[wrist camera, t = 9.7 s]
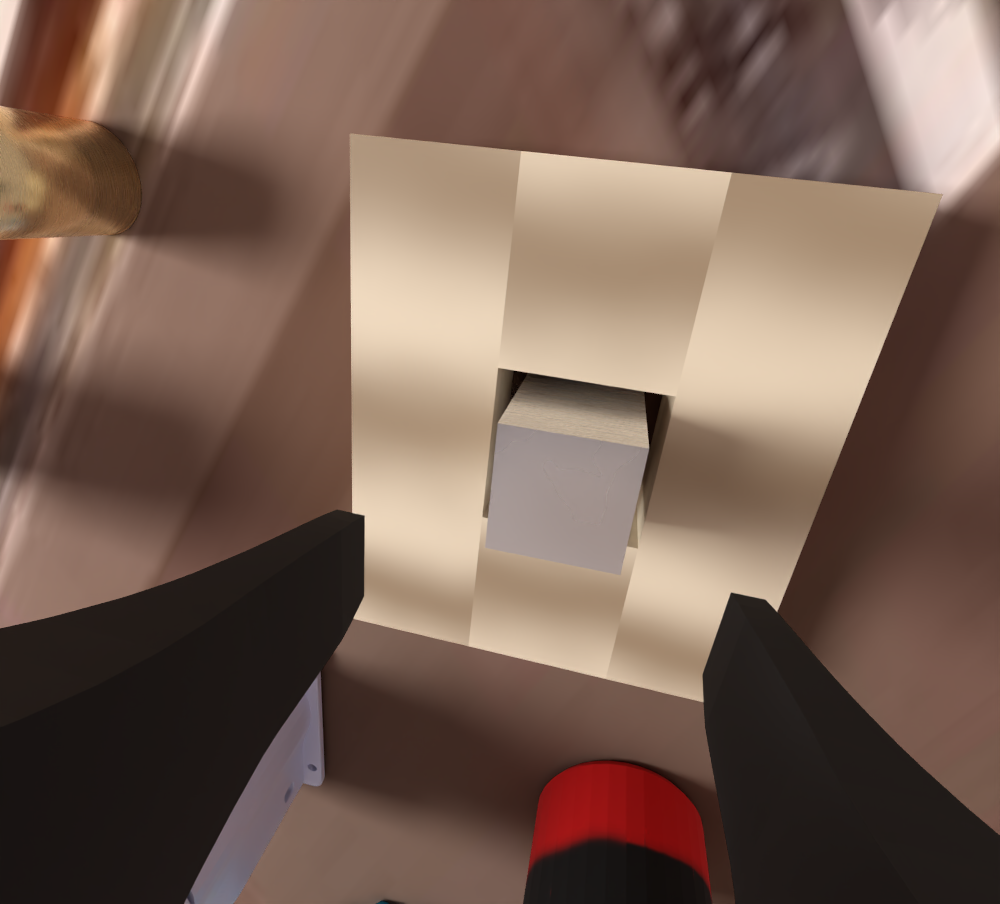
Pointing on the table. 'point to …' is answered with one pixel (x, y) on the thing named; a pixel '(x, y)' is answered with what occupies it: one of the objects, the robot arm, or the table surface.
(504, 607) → the socket plate
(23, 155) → the round bit
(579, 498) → the square bit
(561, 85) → the table surface
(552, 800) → the soda can
